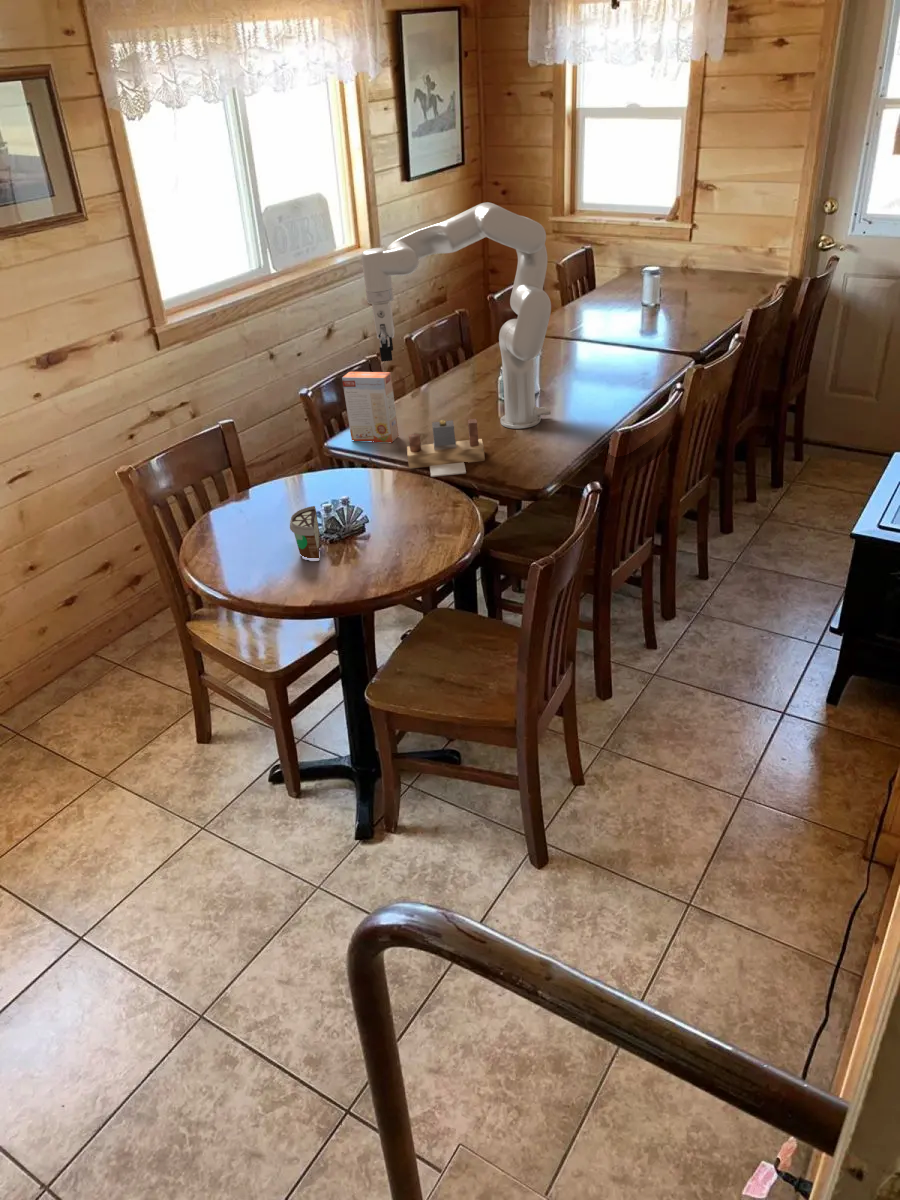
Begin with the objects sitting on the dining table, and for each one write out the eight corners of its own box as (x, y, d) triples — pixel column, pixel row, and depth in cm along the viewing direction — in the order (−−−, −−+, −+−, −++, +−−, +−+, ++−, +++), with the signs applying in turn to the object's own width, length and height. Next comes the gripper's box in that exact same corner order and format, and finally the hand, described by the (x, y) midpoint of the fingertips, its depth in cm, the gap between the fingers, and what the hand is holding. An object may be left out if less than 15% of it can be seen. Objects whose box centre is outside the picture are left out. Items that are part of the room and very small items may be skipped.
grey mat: (464, 463, 259) (464, 462, 259) (466, 473, 253) (466, 472, 253) (429, 467, 259) (429, 465, 259) (430, 477, 253) (430, 475, 253)
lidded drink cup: (297, 543, 225) (290, 507, 220) (321, 540, 226) (315, 504, 220) (294, 567, 215) (286, 530, 210) (319, 564, 215) (312, 527, 210)
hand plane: (482, 451, 265) (480, 415, 259) (484, 460, 259) (482, 424, 254) (408, 459, 265) (404, 423, 259) (409, 468, 259) (404, 432, 253)
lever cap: (454, 438, 261) (452, 417, 258) (455, 444, 257) (453, 422, 254) (433, 440, 261) (431, 419, 258) (434, 446, 257) (432, 424, 254)
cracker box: (399, 436, 281) (391, 371, 270) (392, 444, 276) (383, 377, 265) (358, 434, 285) (349, 370, 274) (351, 442, 281) (341, 376, 270)
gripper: (392, 301, 245) (399, 363, 254) (393, 287, 260) (400, 346, 269) (365, 304, 245) (373, 366, 254) (368, 289, 260) (375, 348, 269)
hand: (387, 355), depth 262 cm, fingers open, 9 cm apart
